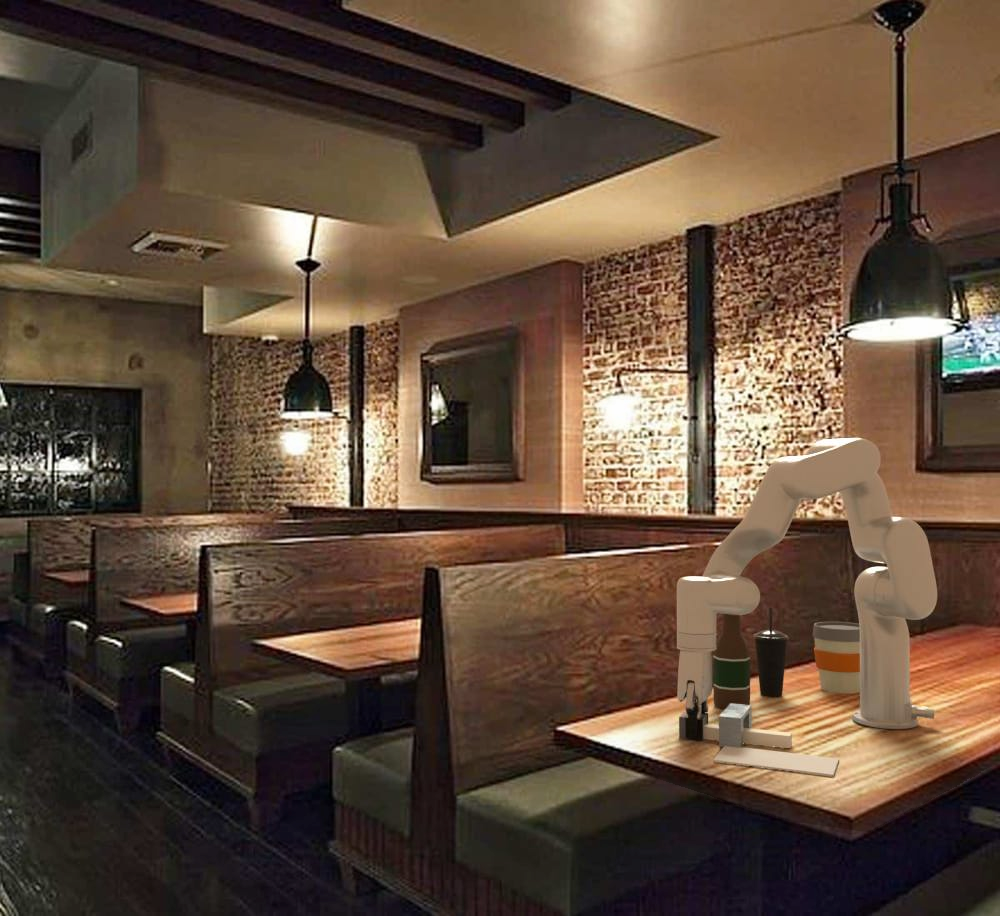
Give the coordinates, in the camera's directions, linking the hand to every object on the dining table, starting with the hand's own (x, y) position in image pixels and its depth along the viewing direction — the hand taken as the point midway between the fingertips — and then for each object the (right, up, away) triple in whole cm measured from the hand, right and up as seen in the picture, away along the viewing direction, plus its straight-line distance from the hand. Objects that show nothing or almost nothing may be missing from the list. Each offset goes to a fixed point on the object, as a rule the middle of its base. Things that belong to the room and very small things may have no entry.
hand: (697, 735), depth 185 cm
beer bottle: (+12, -1, +24) cm, 27 cm away
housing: (+7, 0, -3) cm, 7 cm away
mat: (+11, 0, -16) cm, 19 cm away
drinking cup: (+24, -1, +35) cm, 43 cm away
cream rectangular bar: (+7, 0, -3) cm, 7 cm away
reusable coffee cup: (+42, -1, +41) cm, 59 cm away
